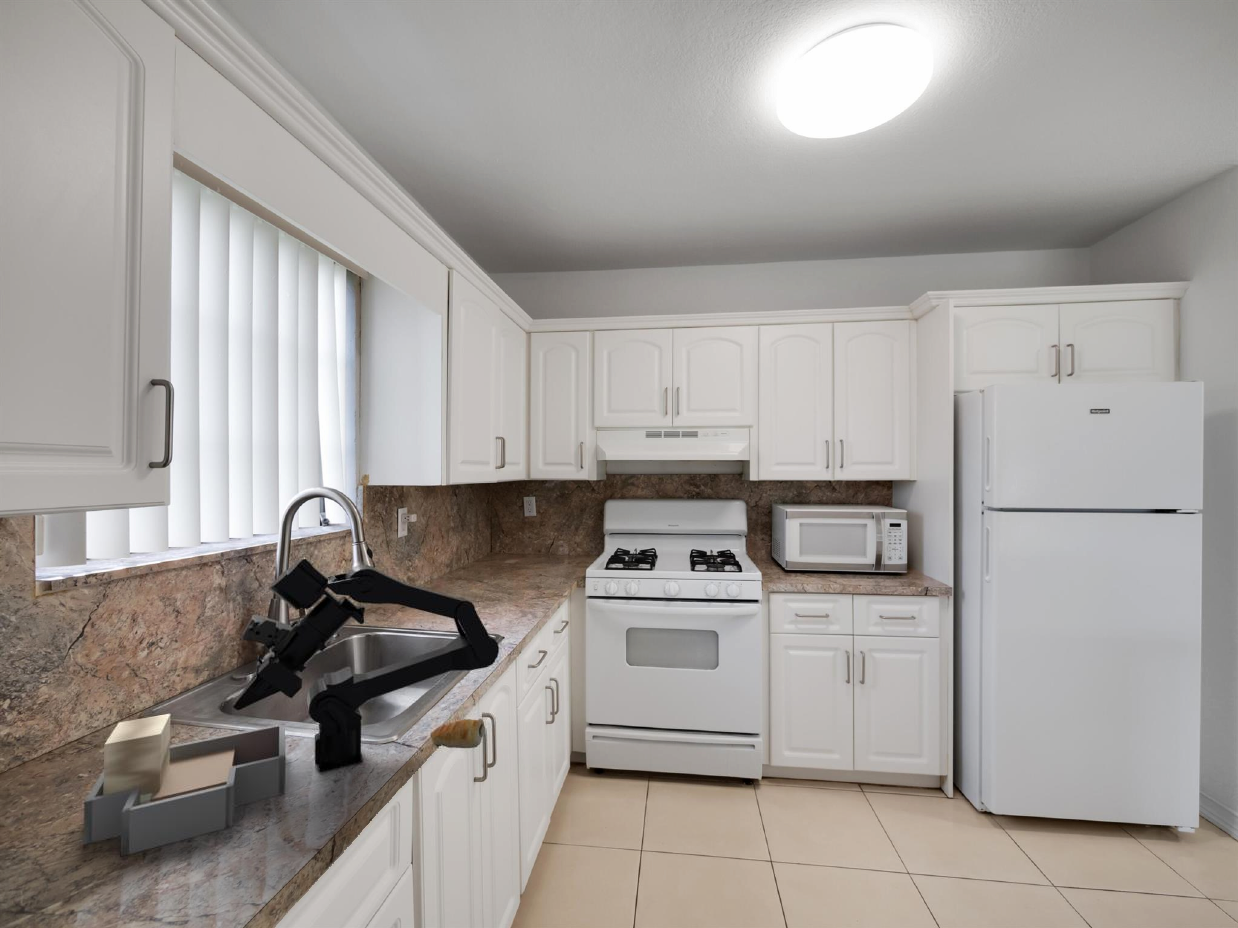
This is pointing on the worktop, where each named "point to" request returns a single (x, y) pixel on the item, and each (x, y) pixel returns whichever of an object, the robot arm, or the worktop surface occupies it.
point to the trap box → (191, 791)
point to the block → (137, 755)
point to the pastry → (459, 734)
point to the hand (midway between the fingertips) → (235, 707)
